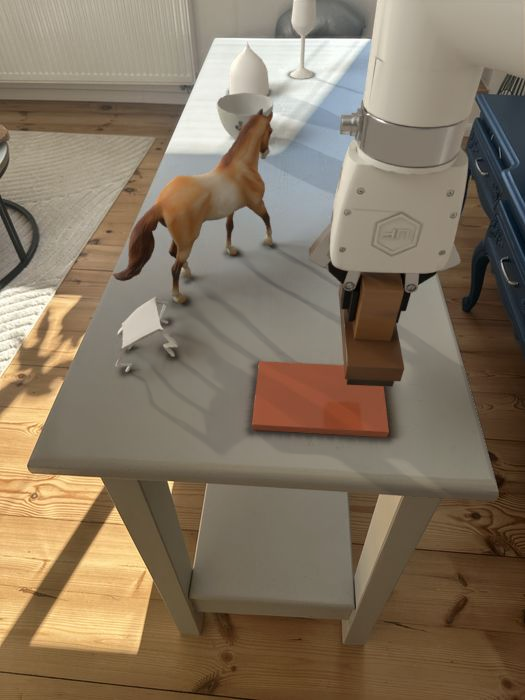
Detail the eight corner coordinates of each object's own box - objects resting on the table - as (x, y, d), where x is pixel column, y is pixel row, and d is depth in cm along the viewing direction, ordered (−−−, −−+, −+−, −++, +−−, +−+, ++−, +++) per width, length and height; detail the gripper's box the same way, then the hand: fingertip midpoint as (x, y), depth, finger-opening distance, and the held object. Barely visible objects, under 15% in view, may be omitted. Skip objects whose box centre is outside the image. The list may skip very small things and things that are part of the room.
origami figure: (177, 375, 64) (172, 350, 60) (114, 376, 64) (105, 351, 60) (187, 313, 72) (182, 288, 68) (131, 314, 72) (124, 288, 68)
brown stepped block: (337, 302, 57) (347, 229, 50) (383, 303, 57) (400, 231, 49) (343, 388, 48) (356, 316, 41) (397, 391, 48) (420, 318, 41)
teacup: (273, 150, 108) (273, 113, 102) (217, 150, 108) (214, 113, 102) (273, 122, 118) (273, 87, 112) (222, 122, 118) (219, 87, 112)
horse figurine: (265, 222, 88) (264, 104, 73) (296, 240, 84) (302, 119, 69) (120, 304, 73) (81, 177, 58) (150, 329, 70) (116, 200, 55)
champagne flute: (302, 68, 143) (306, -33, 125) (317, 74, 140) (324, -30, 122) (285, 74, 140) (287, -30, 123) (300, 80, 137) (305, -26, 119)
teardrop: (273, 97, 128) (273, 46, 120) (233, 101, 127) (230, 50, 118) (264, 83, 136) (263, 33, 127) (225, 87, 134) (222, 37, 125)
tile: (380, 372, 63) (381, 366, 63) (387, 437, 57) (389, 432, 56) (259, 366, 65) (259, 360, 64) (252, 430, 58) (252, 424, 57)
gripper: (297, 153, 34) (289, 336, 47) (541, 158, 33) (461, 342, 46) (298, 110, 39) (290, 286, 52) (509, 113, 38) (446, 291, 51)
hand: (371, 311), depth 49 cm, fingers closed on brown stepped block, 3 cm apart
